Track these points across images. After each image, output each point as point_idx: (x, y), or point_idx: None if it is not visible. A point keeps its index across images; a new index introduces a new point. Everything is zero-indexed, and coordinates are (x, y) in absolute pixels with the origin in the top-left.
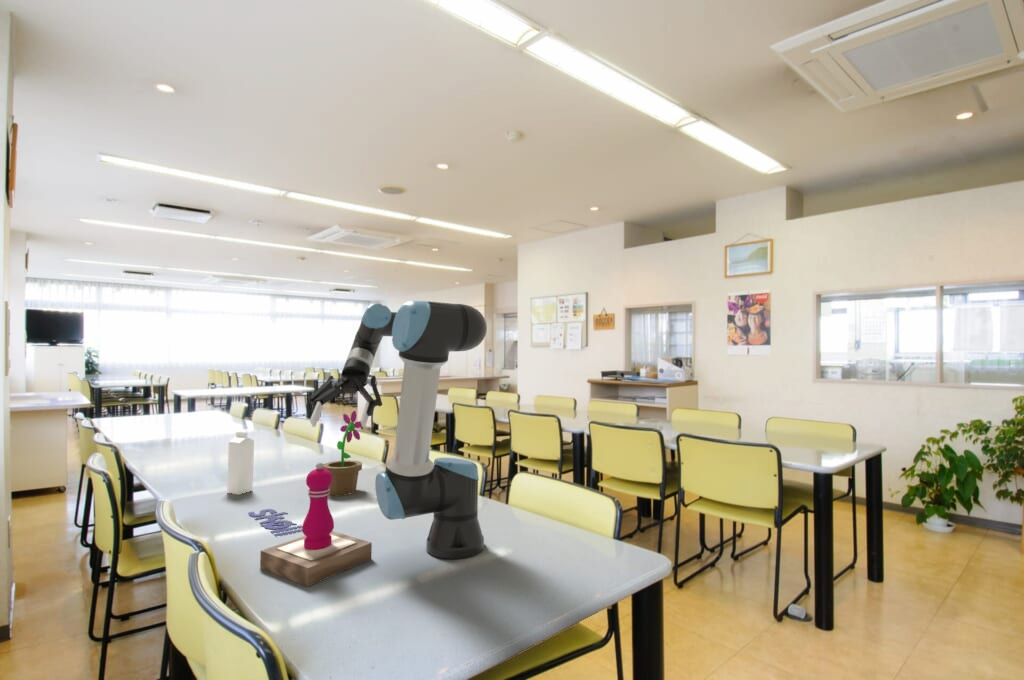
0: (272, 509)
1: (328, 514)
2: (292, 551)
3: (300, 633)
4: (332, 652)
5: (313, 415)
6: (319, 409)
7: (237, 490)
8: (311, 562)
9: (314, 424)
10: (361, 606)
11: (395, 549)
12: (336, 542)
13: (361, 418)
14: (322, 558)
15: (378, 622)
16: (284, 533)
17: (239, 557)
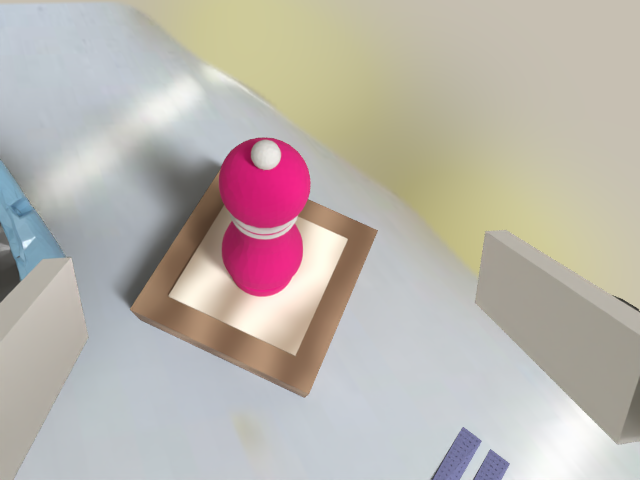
0: None
1: (231, 232)
2: (301, 225)
3: (168, 62)
4: (104, 30)
5: (521, 249)
6: (577, 347)
7: None
8: None
9: (479, 281)
10: (98, 128)
11: (88, 392)
12: (223, 288)
13: (55, 268)
14: (217, 205)
15: (55, 89)
16: (459, 452)
17: (450, 288)
